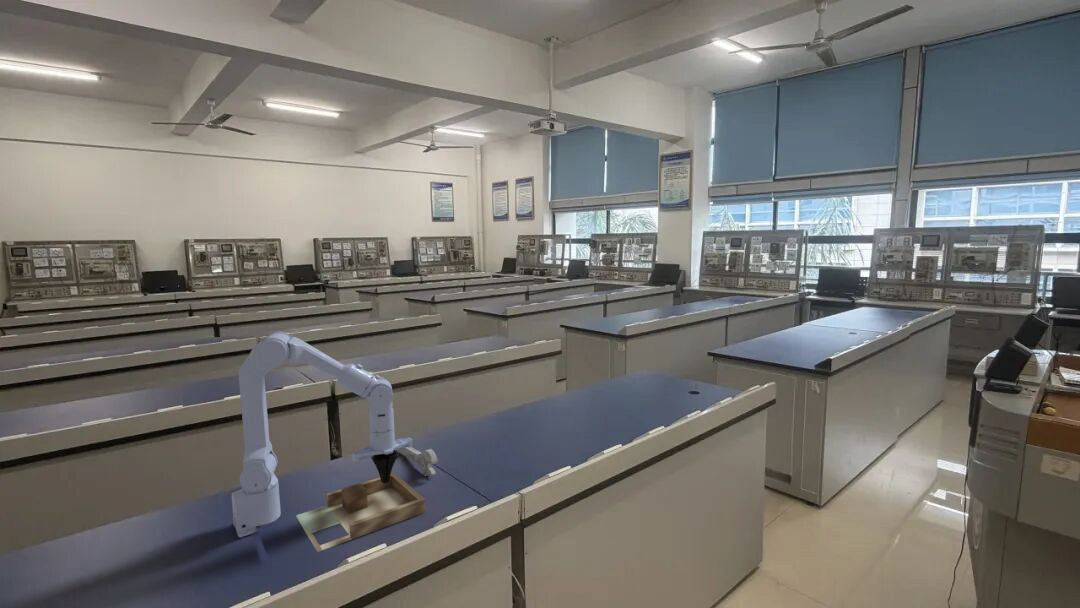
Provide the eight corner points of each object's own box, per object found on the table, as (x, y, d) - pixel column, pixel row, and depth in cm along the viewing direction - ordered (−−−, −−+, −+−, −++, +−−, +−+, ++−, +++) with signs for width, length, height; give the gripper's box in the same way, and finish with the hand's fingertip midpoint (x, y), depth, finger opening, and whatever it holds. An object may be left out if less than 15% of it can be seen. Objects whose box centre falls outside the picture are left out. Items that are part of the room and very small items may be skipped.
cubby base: (317, 557, 102) (316, 538, 101) (295, 520, 116) (294, 503, 115) (425, 516, 117) (425, 499, 116) (395, 488, 131) (394, 472, 130)
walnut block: (348, 513, 116) (347, 495, 115) (342, 506, 119) (341, 488, 119) (367, 507, 119) (366, 489, 118) (361, 500, 122) (360, 482, 122)
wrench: (400, 456, 157) (439, 481, 133) (394, 458, 156) (433, 483, 132) (398, 431, 157) (437, 451, 133) (392, 433, 156) (430, 453, 131)
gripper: (357, 441, 114) (361, 497, 116) (416, 426, 123) (419, 478, 125) (347, 432, 120) (351, 486, 121) (404, 418, 129) (407, 468, 130)
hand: (385, 481), depth 123 cm, fingers closed
